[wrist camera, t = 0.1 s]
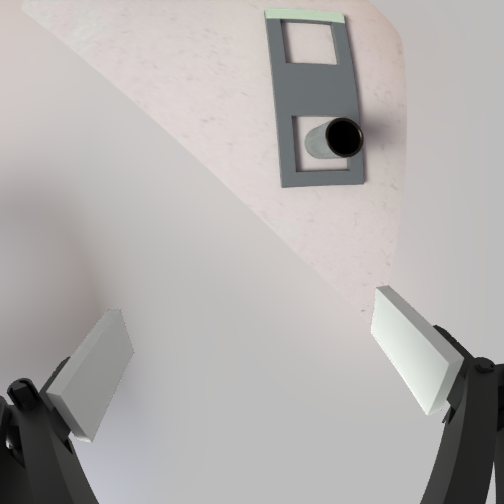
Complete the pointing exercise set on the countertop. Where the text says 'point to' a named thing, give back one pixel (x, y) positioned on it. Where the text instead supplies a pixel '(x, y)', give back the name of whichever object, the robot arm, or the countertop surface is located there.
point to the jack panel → (311, 94)
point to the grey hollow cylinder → (335, 139)
